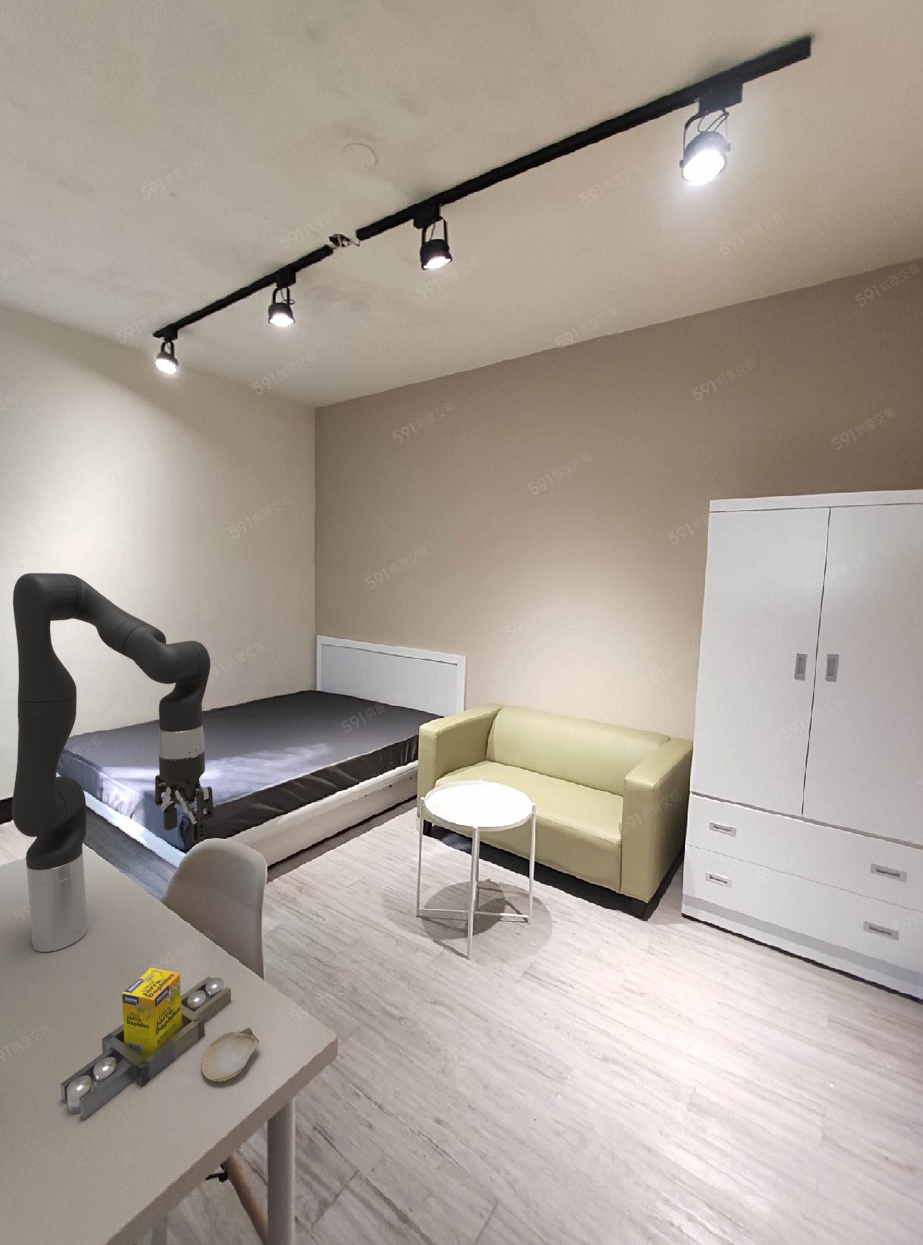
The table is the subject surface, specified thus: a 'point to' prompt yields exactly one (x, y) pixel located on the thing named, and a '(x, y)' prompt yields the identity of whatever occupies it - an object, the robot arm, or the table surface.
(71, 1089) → the frame
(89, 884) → the table surface
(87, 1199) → the table surface
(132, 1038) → the supplement box
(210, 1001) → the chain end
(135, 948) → the table surface
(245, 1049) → the seashell
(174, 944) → the table surface
